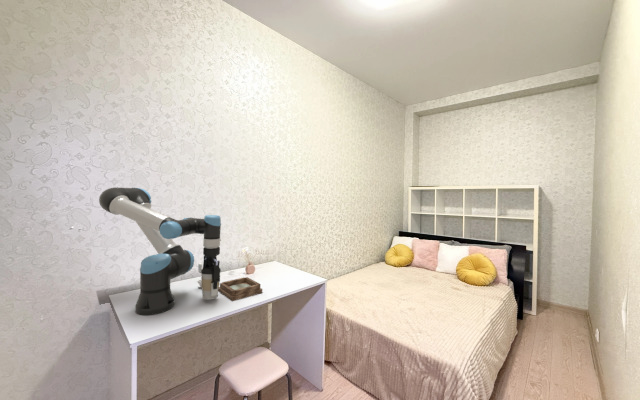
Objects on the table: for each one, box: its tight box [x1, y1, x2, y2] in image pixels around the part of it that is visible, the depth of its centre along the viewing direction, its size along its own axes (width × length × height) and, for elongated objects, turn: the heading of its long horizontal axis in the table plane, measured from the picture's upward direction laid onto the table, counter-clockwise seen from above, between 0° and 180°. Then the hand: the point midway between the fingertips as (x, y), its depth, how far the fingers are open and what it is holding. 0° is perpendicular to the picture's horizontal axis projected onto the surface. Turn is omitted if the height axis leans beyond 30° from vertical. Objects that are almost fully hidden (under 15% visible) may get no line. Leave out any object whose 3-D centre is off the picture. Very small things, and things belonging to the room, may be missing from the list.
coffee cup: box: [200, 266, 222, 300], centre depth 129 cm, size 9×9×15 cm
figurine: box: [196, 262, 203, 289], centre depth 146 cm, size 7×9×15 cm
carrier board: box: [218, 276, 263, 302], centre depth 141 cm, size 17×17×4 cm
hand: (210, 292), depth 129 cm, fingers closed on coffee cup, 9 cm apart
